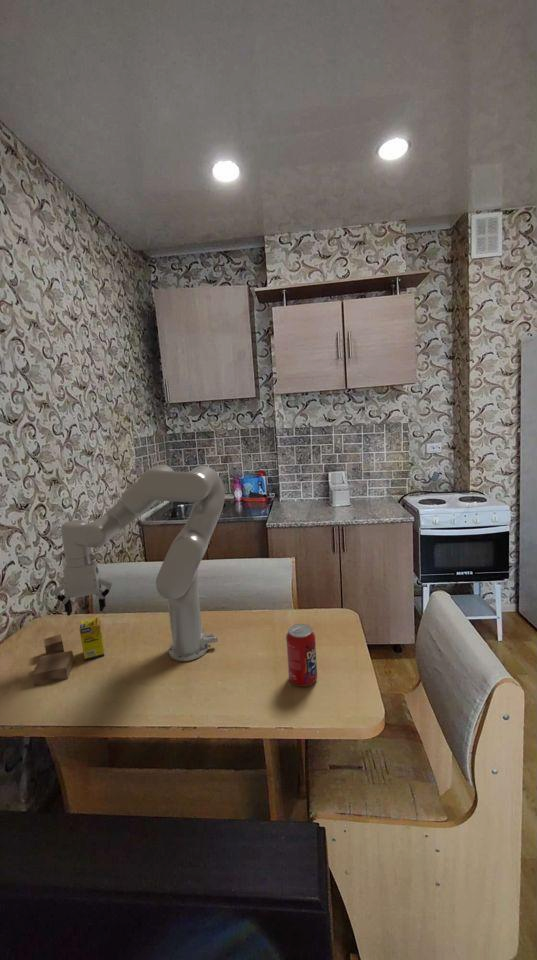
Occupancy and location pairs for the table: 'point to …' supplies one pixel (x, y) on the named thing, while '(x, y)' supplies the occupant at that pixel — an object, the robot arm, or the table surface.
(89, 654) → the supplement box
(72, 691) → the table surface
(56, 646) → the block
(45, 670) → the base block
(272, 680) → the table surface
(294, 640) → the soda can
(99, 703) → the table surface
